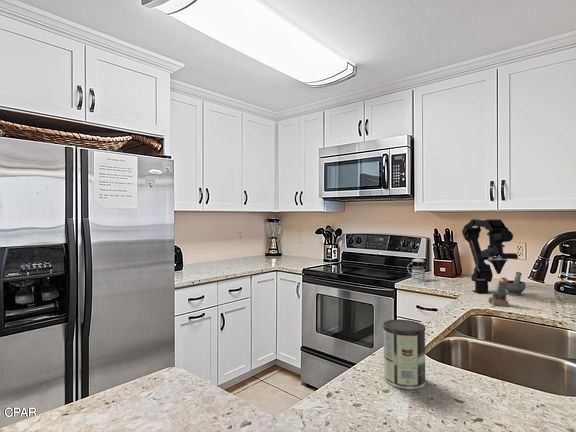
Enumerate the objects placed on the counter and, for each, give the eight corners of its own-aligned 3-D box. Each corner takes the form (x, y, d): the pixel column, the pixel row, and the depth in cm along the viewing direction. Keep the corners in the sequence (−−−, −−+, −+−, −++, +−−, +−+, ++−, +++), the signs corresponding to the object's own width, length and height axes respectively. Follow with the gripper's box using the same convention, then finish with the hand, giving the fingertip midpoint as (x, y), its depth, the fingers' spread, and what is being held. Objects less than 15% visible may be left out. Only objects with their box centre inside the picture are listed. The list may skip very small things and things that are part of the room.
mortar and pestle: (520, 297, 181) (520, 274, 181) (501, 294, 189) (500, 272, 189) (529, 294, 188) (529, 272, 188) (510, 291, 195) (510, 270, 196)
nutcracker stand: (488, 302, 172) (488, 290, 172) (502, 302, 170) (502, 291, 170) (494, 306, 164) (493, 294, 164) (508, 306, 163) (508, 294, 163)
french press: (425, 283, 221) (425, 244, 221) (406, 282, 226) (406, 243, 226) (427, 281, 230) (426, 243, 230) (408, 279, 235) (408, 242, 235)
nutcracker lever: (495, 295, 167) (499, 277, 161) (502, 295, 167) (506, 277, 160) (496, 299, 165) (501, 281, 159) (503, 299, 164) (508, 281, 158)
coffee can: (408, 369, 96) (408, 317, 96) (434, 386, 86) (434, 329, 86) (375, 374, 93) (375, 320, 93) (398, 392, 83) (398, 333, 83)
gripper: (469, 244, 186) (471, 273, 184) (500, 241, 169) (503, 274, 166) (485, 244, 190) (487, 273, 187) (517, 242, 172) (520, 274, 170)
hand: (498, 273), depth 178 cm, fingers closed
